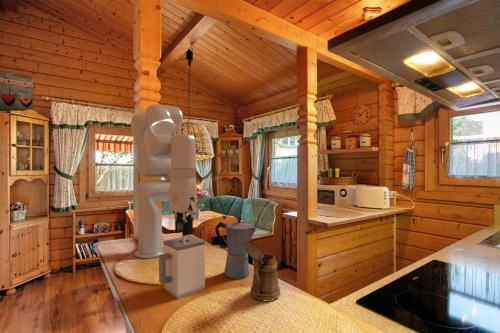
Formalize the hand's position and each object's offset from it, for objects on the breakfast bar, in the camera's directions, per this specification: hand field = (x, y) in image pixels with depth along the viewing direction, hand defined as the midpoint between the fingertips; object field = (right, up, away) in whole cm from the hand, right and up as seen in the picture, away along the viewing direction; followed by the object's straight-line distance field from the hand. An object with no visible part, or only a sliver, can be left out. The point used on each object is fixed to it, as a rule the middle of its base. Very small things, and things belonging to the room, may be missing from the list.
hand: (183, 232), depth 87 cm
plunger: (0, -13, 0) cm, 13 cm away
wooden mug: (+24, -18, -5) cm, 30 cm away
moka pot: (+15, -17, +12) cm, 26 cm away
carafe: (-1, -18, -1) cm, 18 cm away
